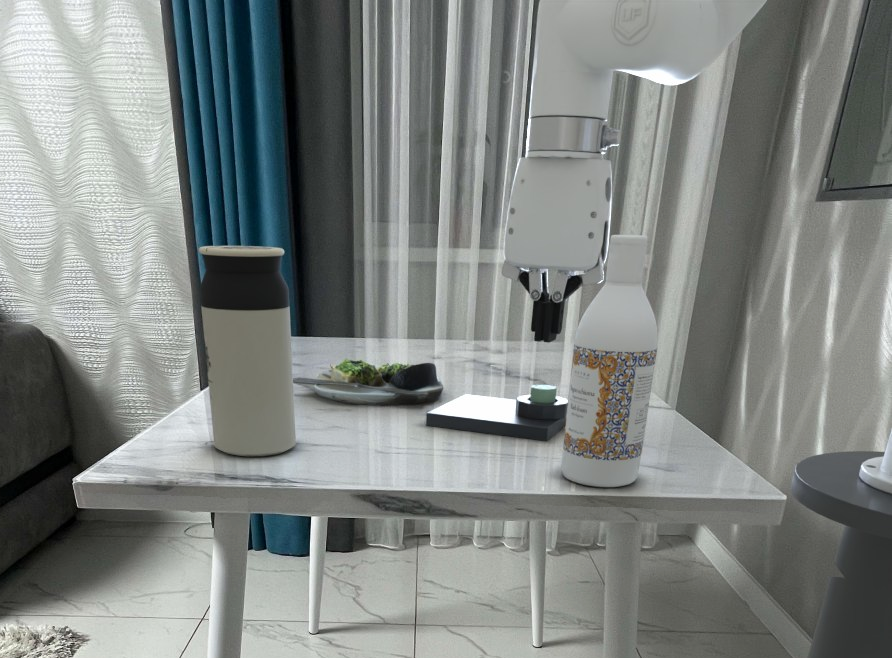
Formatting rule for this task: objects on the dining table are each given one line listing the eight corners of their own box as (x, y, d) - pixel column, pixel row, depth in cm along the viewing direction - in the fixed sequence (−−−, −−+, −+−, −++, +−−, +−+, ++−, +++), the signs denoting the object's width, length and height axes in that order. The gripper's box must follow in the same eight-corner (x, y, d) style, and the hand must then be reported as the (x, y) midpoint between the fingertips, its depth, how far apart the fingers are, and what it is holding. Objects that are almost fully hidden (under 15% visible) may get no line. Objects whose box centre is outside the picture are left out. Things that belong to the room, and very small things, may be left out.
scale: (578, 419, 95) (581, 393, 94) (549, 441, 85) (552, 413, 84) (465, 405, 100) (466, 380, 99) (425, 425, 91) (426, 398, 89)
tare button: (558, 402, 91) (559, 386, 90) (551, 406, 89) (552, 390, 88) (534, 399, 92) (535, 383, 91) (526, 403, 90) (528, 387, 89)
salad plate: (286, 408, 96) (284, 368, 94) (297, 379, 112) (295, 345, 110) (448, 410, 98) (449, 370, 96) (436, 381, 114) (437, 347, 112)
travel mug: (306, 440, 84) (298, 247, 75) (281, 460, 77) (269, 251, 68) (232, 434, 85) (216, 244, 76) (201, 454, 78) (180, 247, 69)
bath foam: (544, 472, 75) (568, 233, 66) (602, 463, 78) (631, 234, 69) (593, 493, 70) (626, 236, 61) (653, 482, 73) (692, 237, 64)
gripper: (649, 146, 79) (621, 342, 88) (505, 144, 84) (491, 330, 93) (634, 140, 73) (605, 352, 82) (480, 138, 78) (468, 338, 87)
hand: (545, 340), depth 87 cm, fingers closed
